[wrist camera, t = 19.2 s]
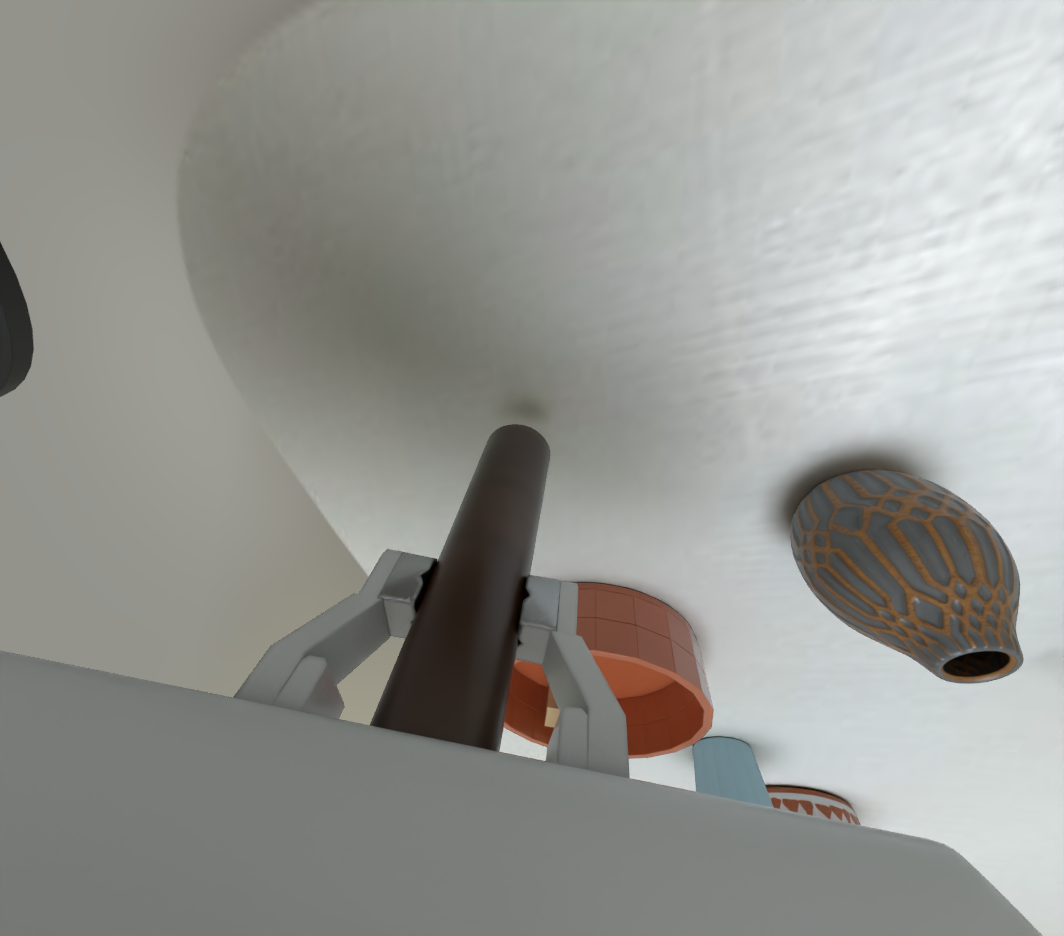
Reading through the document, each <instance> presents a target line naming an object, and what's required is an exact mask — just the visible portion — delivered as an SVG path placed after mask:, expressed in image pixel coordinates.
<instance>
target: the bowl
mask: <svg viewBox="0 0 1064 936" xmlns="http://www.w3.org/2000/svg"><path fill="white" fill-rule="evenodd" d="M577 585H578V606H577V629H576V635H578V636H581V637H582V638H583V640H584V642H585V644H586V645H587V647H588V649H589V651H590V653H591V654H592V656H593V658H594V660H595V662H596V663H597V665H598V667H599V669H600V671H601V672H602V674H603V676H604V678H605V680H606V681H607V683H608V685H609V687H610V688H611V690H612V692H613V694H614V696H615V697H616V699H617V701H618V703H619V705H620V706H621V708H622V710H623V712H624V714H625V715H626V726H627V743H628V759H629V758H648V757H654V756H659V755H664V754H669V753H673V752H677V751H679V750H681V749H684V748H686V747H688V746H690V745H692V744H694V743H697V742H698V741H699V740H700V739H701V738H702V737H703V736H704V735H705V734H706V733H707V732H708V731H709V730H710V729H711V727H712V719H713V705H712V701H711V696H710V692H709V688H708V683H707V679H706V674H705V670H704V666H703V661H702V657H701V652H700V648H699V645H698V643H697V641H696V637H695V634H694V632H693V630H692V628H691V627H690V626H689V624H688V623H687V622H686V620H685V619H684V618H683V617H682V616H681V615H680V614H679V613H678V612H676V611H675V610H674V609H672V608H671V607H669V606H668V605H666V604H665V603H663V602H661V601H659V600H657V599H655V598H653V597H651V596H648V595H646V594H644V593H641V592H638V591H635V590H631V589H628V588H623V587H619V586H614V585H607V584H600V583H577ZM547 694H548V681H547V678H546V676H545V673H544V671H543V668H542V665H540V664H535V663H530V662H526V661H521V660H517V659H515V663H514V669H513V675H512V680H511V686H510V692H509V698H508V704H507V709H506V715H505V721H504V727H505V728H506V729H508V730H510V731H511V732H513V733H515V734H517V735H519V736H521V737H523V738H525V739H527V740H529V741H531V742H534V743H537V744H540V745H543V746H546V747H548V744H549V741H550V738H551V736H552V733H553V730H554V727H548V726H545V725H544V724H545V714H546V704H547Z"/></svg>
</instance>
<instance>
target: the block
mask: <svg viewBox="0 0 1064 936" xmlns="http://www.w3.org/2000/svg"><path fill="white" fill-rule="evenodd" d="M559 714H560V712H559V710H558V707H557V704H556V702H555V699H554V697H553V694H552V691H551V689H550V686H549V684H548V694H547V704H546V714H545V724H544V725H545V726H548V727H555V725H556V722H557V719H558V716H559Z"/></svg>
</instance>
